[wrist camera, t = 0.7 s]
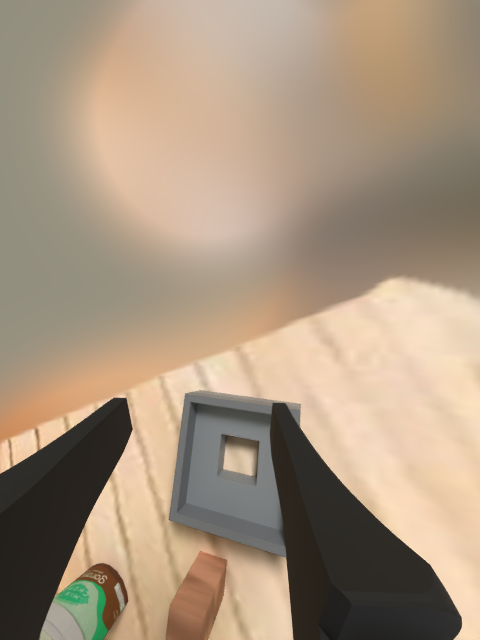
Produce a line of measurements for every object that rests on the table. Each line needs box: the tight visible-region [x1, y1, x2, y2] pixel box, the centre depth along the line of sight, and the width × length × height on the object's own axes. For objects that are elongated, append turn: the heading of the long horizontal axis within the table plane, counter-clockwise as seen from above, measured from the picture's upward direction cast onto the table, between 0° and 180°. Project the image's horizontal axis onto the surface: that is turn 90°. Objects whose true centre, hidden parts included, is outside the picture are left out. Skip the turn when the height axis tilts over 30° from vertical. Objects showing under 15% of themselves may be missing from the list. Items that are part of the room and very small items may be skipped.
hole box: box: [169, 390, 301, 557], centre depth 32 cm, size 16×16×5 cm
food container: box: [38, 563, 128, 640], centre depth 31 cm, size 12×6×10 cm, turn 104°
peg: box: [166, 551, 227, 640], centre depth 28 cm, size 4×4×8 cm
